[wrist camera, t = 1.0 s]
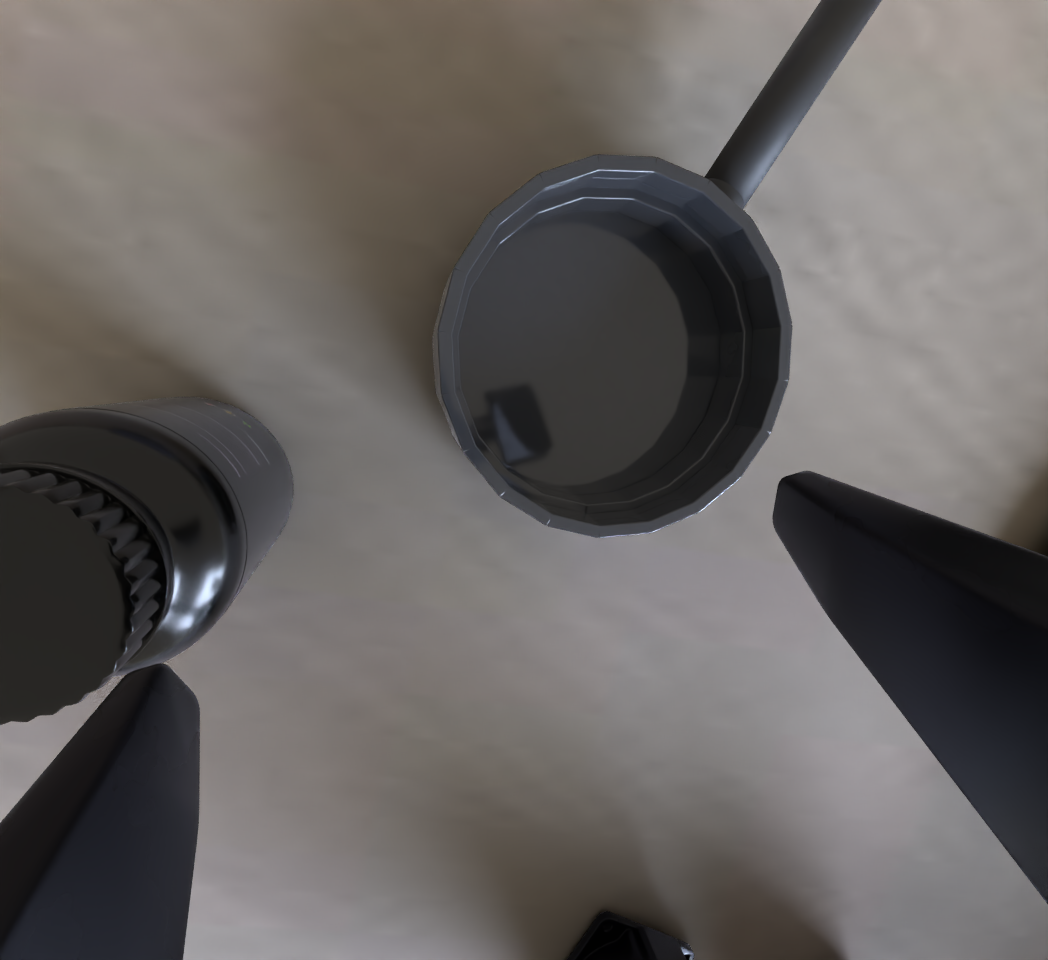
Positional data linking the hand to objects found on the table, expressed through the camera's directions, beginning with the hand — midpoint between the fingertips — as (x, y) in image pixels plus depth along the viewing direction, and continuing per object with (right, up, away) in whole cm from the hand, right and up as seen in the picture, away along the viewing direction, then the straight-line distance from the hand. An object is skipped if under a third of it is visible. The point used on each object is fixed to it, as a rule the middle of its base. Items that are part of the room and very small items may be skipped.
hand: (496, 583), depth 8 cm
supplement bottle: (-12, +1, +14) cm, 18 cm away
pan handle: (+10, +16, +13) cm, 23 cm away
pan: (+3, +7, +16) cm, 17 cm away
